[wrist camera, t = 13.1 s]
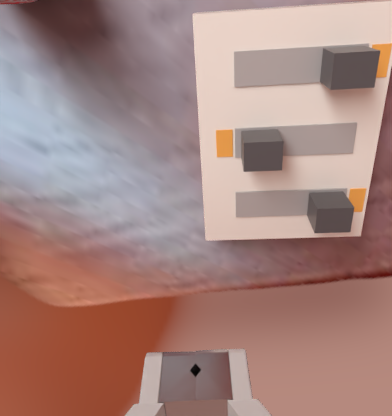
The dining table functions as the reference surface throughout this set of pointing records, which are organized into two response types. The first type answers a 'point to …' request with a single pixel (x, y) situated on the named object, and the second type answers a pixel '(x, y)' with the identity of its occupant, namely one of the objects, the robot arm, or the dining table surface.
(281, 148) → the switch tab
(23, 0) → the soda can
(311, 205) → the switch tab
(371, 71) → the switch tab
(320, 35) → the switch panel
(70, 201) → the dining table surface
